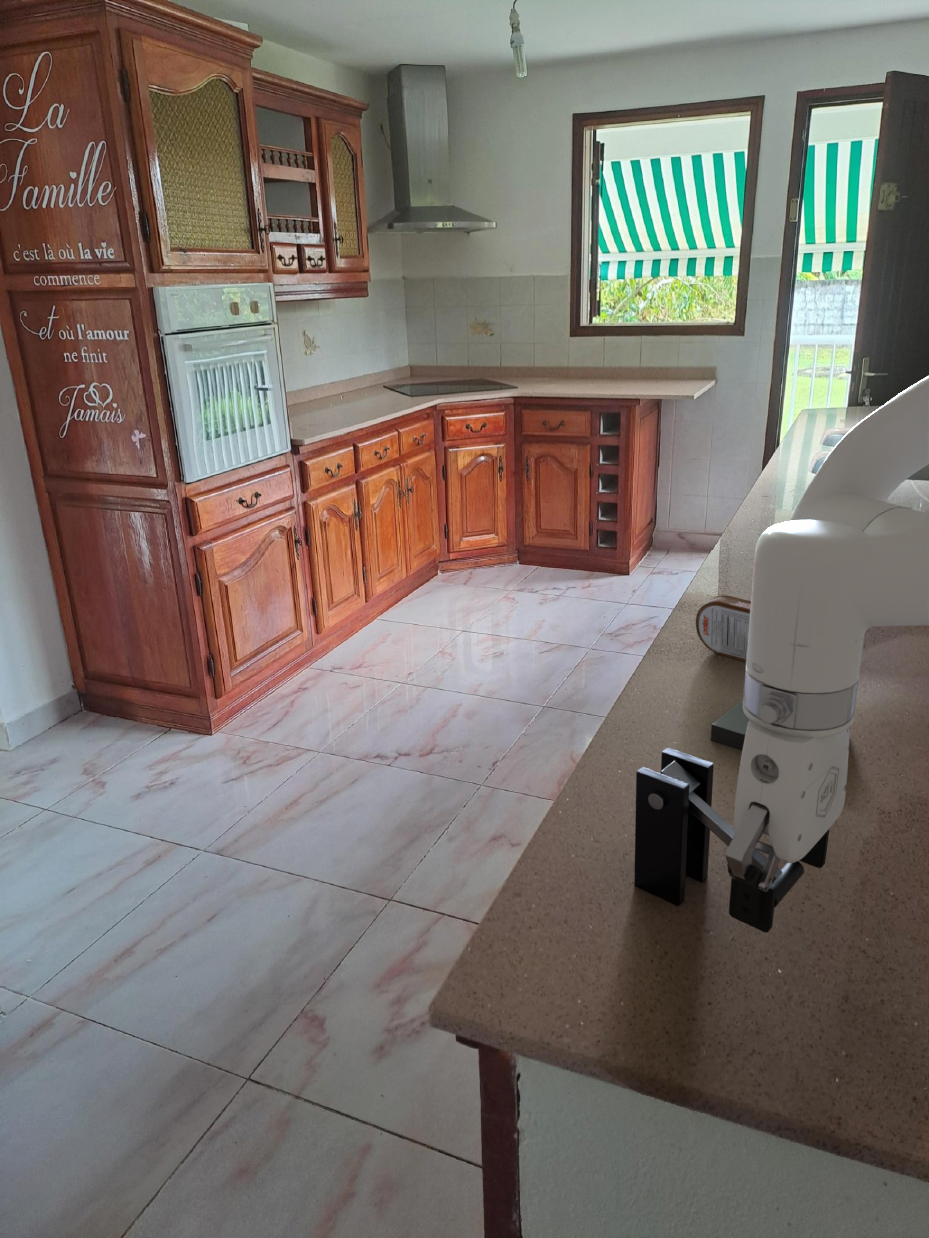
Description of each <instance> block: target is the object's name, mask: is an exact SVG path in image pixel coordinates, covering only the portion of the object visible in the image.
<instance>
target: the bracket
mask: <svg viewBox="0 0 929 1238" xmlns="http://www.w3.org/2000/svg"><path fill="white" fill-rule="evenodd" d="M660 760H661V763H660V772H661V771H662V770H663V769H665V768H666V767H667V766H668V765H670V764H671V763H672V762H673V761H676V762H677V763H678V764H679V765H680V766H681V767H683V768H684V769H685V770H686V771H687V772H688V773H689V774H690V775H692V776H693V777H694V778H695V779H696V780H697V781H698V782H699V783H700V785H699V786H698V787H697V789H696V790H695V791H694V793H695V794H697V795H698V796H699V797H700V798H701V799H702V800H703V801H704V802H706V803H707V804H708V805H709V806H710V807H711V808H712V803H713V802H712V801H713V785H714V784H713V783H714V767H715V763H714V762H711V761H708V760H705V759H702V758H700V757H696V756H693V755H691V754H688V753H685V752H682V751H679V750H676V749H674V748H670V747H666V748H665V749H663V750H662V751H661V757H660ZM660 772H657V771H654V770H652V769H650V768H646V767H644V766H642V767H640V768H639V769H638V770H637V771H636V772H635V773H636V774H635V818H634V819H635V820H634V823H635V827H634V829H635V831H634V833H635V834H634V875H633V876H634V879H633V880H634V883H633V885H634V887H636V888H638V889H640V890H642V891H644V892H646V893H648V894H651V895H653V896H655V897H657V898H659V899H661V900H663V901H666V902H668V903H670V904H672V905H674V906H675V907H680V906H681V905H682V904H683V903H684V902H685V894H686V893H685V892H686V877H688V878H690V879H693V880H695V881H696V882H700V883H701V884H703V882H704V881H706V880H707V879H708V877H709V860H710V859H709V856H710V839H711V830H710V829H709V828H708V827H706V826H705V825H704V824H703V823H702V822H701V821H700V820H699V819H698V818H697V817H695V816H694V815H693V814H692V813H691V812H690V811H689V810H688V805H689V784H687V783H685V782H682V781H679V780H676V779H674V778H671V777H668V776H666V775H663V774H660Z"/></svg>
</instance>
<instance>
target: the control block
mask: <svg viewBox="0 0 929 1238" xmlns="http://www.w3.org/2000/svg"><path fill="white" fill-rule="evenodd" d="M748 721H749V719H748V717H747V716H746V715H745V713H744V712H743V699H742V700H740V701H739V702H738V703H737V704H736V705H734V706H733V707H732V708H730V709H729V710H728V711H727V712H725V713H724V714H723V715H722V716H720V717H719V718H718V719H716V720H715V721H714V722H713V723H712V724H711V728H710V741H711V742H714V743H716V744H720V745H723V746H727V747H729V748H732V749H735V750H739V751H741V752H742V750H743V745H744V740H745V735H746V730H747V725H748Z"/></svg>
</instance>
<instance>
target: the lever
mask: <svg viewBox="0 0 929 1238" xmlns="http://www.w3.org/2000/svg"><path fill="white" fill-rule="evenodd" d="M659 773H660V774H663V775H666V776H668V777H671V778H674V779H676V780H679V781H682V782H685V783H687V784H689V805H688V810H689V811H690V812H691V813H692V814H693V815H694V816H695V817H697V818H698V819H699V820H700V821H701V822H702V823H703V824H704V825H705V826H706V827H708V828H709V829H710V832H712V833H713V834H714V835H715V836H716V837H717V838H718V839H719V840H720V841H721V842H723V843H724V844H725V845H726V846H727V848H728V847H729V845H730V843H731V841H732V839H733V838H734V836H735V834H734V826H732V825H731V824H730V823H729V822H728V821H727V820H726V819H725V818H724V817H722V816H721V815H720V814H719V813H718V812H717V811H716V810H714V809H713V808H712V806H711V807H710V806H709V805H708V804H707V803H706V802H704V801H703V800H702V799H701V798H700V797H699V796H698V795H697V794H695V793H694V791H695V790H696V789H697V787H698V786H699V785H700V783H699V782H698V781H697V780H696V779H695V778H694V777H693V776H692V775H690V774H689V773H688V772H687V771H686V770H685V769H684V768H683V767H681V766H680V765H679V764H678V763H677V762H676V761H673V762H672V763H671V764H670V765H668V766H667V767H666V768H665V769H663V770H662V771H661V770H660V772H659ZM767 858H768V856H766V855H765V854H764V853H763V852H761V851H758V850H756V849H754V851H753V853H752V862H751V863H752V865H754V866H756V867H758V868H759V869H760V870H761V871H763V869H764V866H765V863H766V860H767ZM804 874H805V868H804V866H803V864H802V862H801V861H797V862H794V863H788V862H786V863H785V864H784V866H782V868H780V867H779V866H778V867H777V870H776V872H775V875H774V878H773V881H772V883H771V884H773V885H774V886H776V895H775V905H774V909H775V908H776V907H778V904H779V905H780V903H781V902H782V900H783V899H784V898H785V897H786V896H787V894H788V893H789V892H790V890H792V889H793V887H794V886H795V884H796V883H797V882H798V881H799V880H800V879H801V877H803V875H804Z"/></svg>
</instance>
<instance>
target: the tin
mask: <svg viewBox="0 0 929 1238" xmlns="http://www.w3.org/2000/svg"><path fill="white" fill-rule="evenodd" d="M750 608H751V599H750V600H749V599H746V598H741V597H737V596H733V595H728V594H720V595H716V596H714V597H711V598H709V600H708V601H706V602H705V603H704V604H702V606H700V608H699V609H698V611H697V613H696V616H695V630H696V634H697V636H698V638H699V640H700V641H701V643H702V644H703V646H705V648H707V649H708V650H709V651H710V652H713V653H714V654H717V655H719V656H723V657H725V658H730V659H733V660H737V661H741V662H745V663H746V658H747V645H748V633H749V620H750Z"/></svg>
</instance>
